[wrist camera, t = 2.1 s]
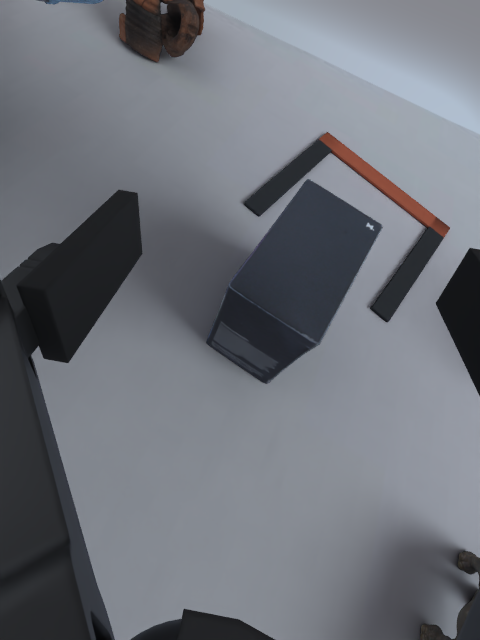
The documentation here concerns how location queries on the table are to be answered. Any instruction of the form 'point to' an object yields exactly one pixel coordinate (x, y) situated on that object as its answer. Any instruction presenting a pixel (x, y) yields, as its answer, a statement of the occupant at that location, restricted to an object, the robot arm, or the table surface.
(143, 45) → the pottery mug
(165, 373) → the table surface
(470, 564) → the rhino figurine
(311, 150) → the bay
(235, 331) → the small box
